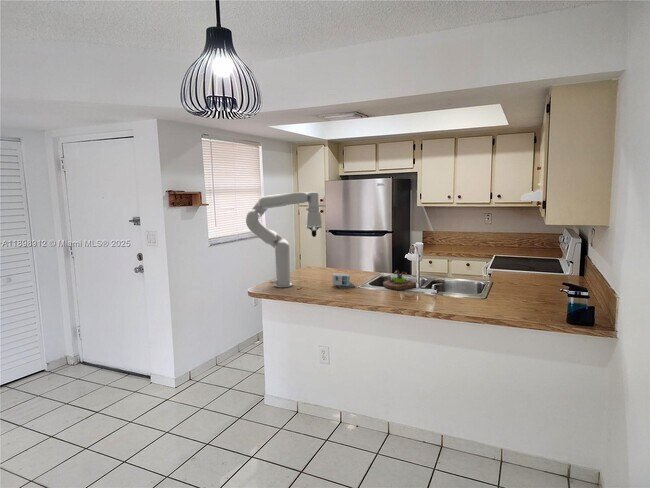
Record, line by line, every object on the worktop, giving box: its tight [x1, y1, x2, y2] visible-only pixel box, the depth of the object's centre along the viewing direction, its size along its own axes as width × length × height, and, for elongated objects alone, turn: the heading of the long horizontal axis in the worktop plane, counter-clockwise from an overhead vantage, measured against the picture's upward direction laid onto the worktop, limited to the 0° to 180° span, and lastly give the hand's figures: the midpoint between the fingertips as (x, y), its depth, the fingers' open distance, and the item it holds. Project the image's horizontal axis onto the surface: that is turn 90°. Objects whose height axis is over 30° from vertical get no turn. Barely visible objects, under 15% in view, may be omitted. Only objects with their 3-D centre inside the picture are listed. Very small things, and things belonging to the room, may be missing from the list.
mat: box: [335, 280, 356, 290], centre depth 274 cm, size 11×16×2 cm
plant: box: [382, 269, 417, 291], centre depth 271 cm, size 20×20×11 cm
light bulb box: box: [331, 272, 350, 286], centre depth 272 cm, size 11×7×11 cm
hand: (314, 236), depth 279 cm, fingers closed
